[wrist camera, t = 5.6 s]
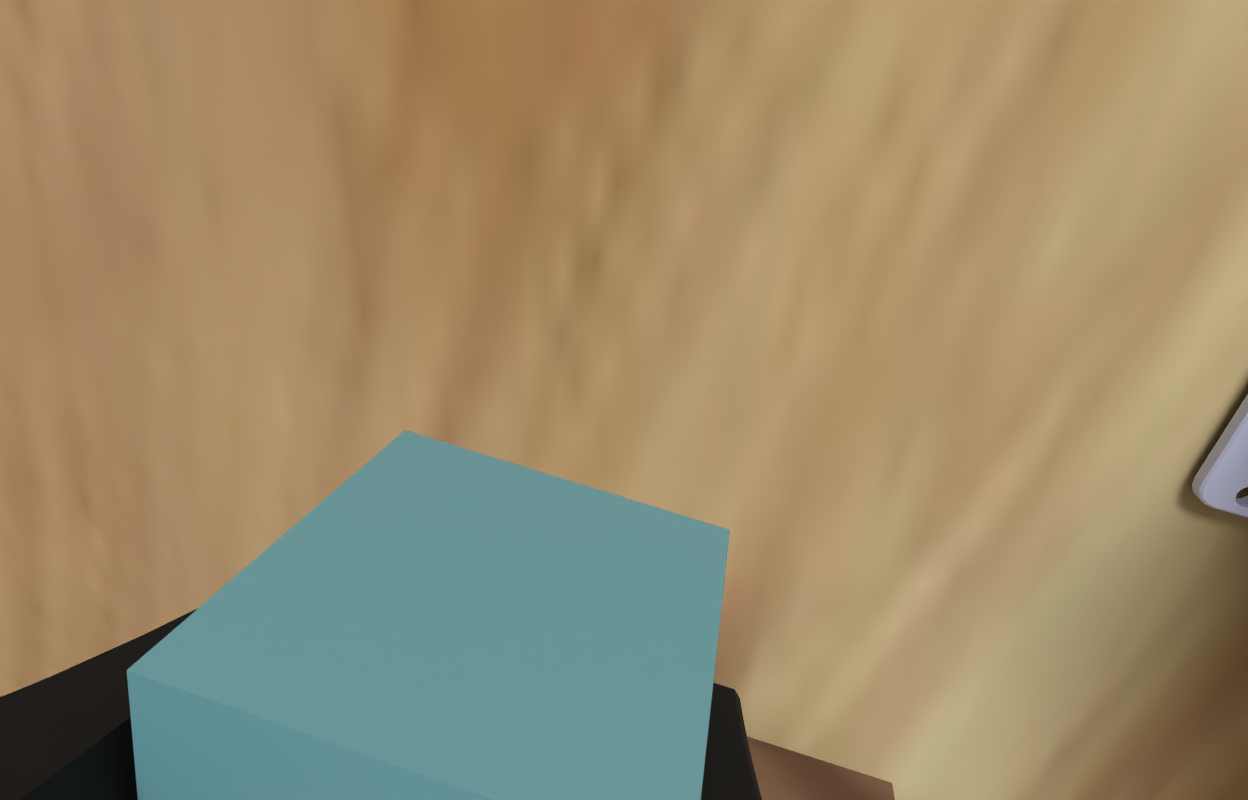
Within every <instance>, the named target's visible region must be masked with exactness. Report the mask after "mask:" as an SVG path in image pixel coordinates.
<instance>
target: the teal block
mask: <svg viewBox="0 0 1248 800" xmlns="http://www.w3.org/2000/svg"><path fill="white" fill-rule="evenodd" d="M729 533H730V530H728V529H725V528H722V527H719V526H715V525H712V524H709V523H705V522H702V521H699V520H696V519H692V518H689V517H686V516H683V515H679V514H676V513H673V512H670V511H666V510H663V509H660V508H657V507H653V506H650V505H647V504H644V503H640V502H637V501H634V500H631V499H627V498H624V497H621V496H618V495H614V494H611V493H608V492H605V491H601V490H598V489H595V488H591V487H588V486H585V485H582V484H578V483H575V482H572V481H569V480H565V479H562V478H559V477H556V476H552V475H549V474H546V473H543V472H539V471H536V470H533V469H530V468H526V467H523V466H520V465H517V464H513V463H510V462H507V461H504V460H500V459H497V458H494V457H491V456H487V455H484V454H481V453H478V452H474V451H471V450H468V449H464V448H461V447H458V446H455V445H451V444H448V443H445V442H442V441H438V440H435V439H432V438H429V437H425V436H422V435H419V434H416V433H412V432H409V431H406V430H405V431H404V432H403V433H401V434H400V435H399V436H398V437H397V438H396V439H394V440H393V441H392V442H391V443H390V444H389V445H387V446H386V447H385V448H384V449H383V450H382V451H380V452H379V453H378V454H377V455H376V456H375V457H374V458H372V459H371V460H370V461H369V462H368V463H367V464H365V465H364V466H363V467H362V468H361V469H360V470H358V471H357V472H356V473H355V474H354V475H353V476H351V477H350V478H349V479H348V480H347V481H346V482H344V483H343V484H342V485H341V486H340V487H339V488H338V489H336V490H335V491H334V492H333V493H332V494H331V495H329V496H328V497H327V498H326V499H325V500H324V501H322V502H321V503H320V504H319V505H318V506H317V507H315V508H314V509H313V510H312V511H311V512H310V513H309V514H307V515H306V516H305V517H304V518H303V519H302V520H300V521H299V522H298V523H297V524H296V525H295V526H293V527H292V528H291V529H290V530H289V531H288V532H286V533H285V534H284V535H283V536H282V537H281V538H279V539H278V540H277V541H276V542H275V543H274V544H273V545H271V546H270V547H269V548H268V549H267V550H266V551H264V552H263V553H262V554H261V555H260V556H259V557H257V558H256V559H255V560H254V561H253V562H252V563H250V564H249V565H248V566H247V567H246V568H245V569H243V570H242V571H241V572H240V573H239V574H238V575H237V576H235V577H234V578H233V579H232V580H231V581H230V582H228V583H227V584H226V585H225V586H224V587H223V588H221V589H220V590H219V591H218V592H217V593H216V594H214V595H213V596H212V597H211V598H210V599H209V600H208V601H206V602H205V603H204V604H203V605H202V606H201V607H199V608H198V609H197V610H196V611H195V612H194V613H192V614H191V615H190V616H189V617H188V618H187V619H185V620H184V621H183V622H182V623H181V624H180V625H178V626H177V627H176V628H175V629H174V630H173V631H172V632H170V633H169V634H168V635H167V636H166V637H165V638H163V639H162V640H161V641H160V642H159V643H158V644H156V645H155V646H154V647H153V648H152V649H151V650H149V651H148V652H147V653H146V654H145V655H144V656H143V657H141V658H140V659H139V660H138V661H137V662H136V663H134V664H133V665H132V666H131V667H130V668H129V669H127V680H128V692H129V703H130V715H131V727H132V738H133V750H134V761H135V773H136V784H137V796H138V800H701V792H702V783H703V774H704V765H705V755H706V746H707V737H708V728H709V718H710V709H711V700H712V691H713V681H714V672H715V663H716V654H717V644H718V635H719V626H720V617H721V607H722V598H723V589H724V580H725V570H726V561H727V552H728V543H729Z"/></svg>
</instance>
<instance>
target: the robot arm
mask: <svg viewBox="0 0 1248 800" xmlns="http://www.w3.org/2000/svg"><path fill="white" fill-rule="evenodd" d="M1246 487H1248V394H1247V396H1246V397H1245V399H1244V400H1243V402H1242V404H1241V405H1240V407H1239V408H1238V410H1237V411H1236V413H1235V414H1234V416H1233V418H1232V419H1231V421H1230V422H1229V424H1228V425H1227V427H1226V429H1225V430H1224V432H1223V433H1222V435H1221V436H1220V438H1219V440H1218V441H1217V443H1216V444H1215V446H1214V447H1213V449H1212V451H1211V452H1210V454H1209V455H1208V457H1207V458H1206V460H1205V462H1204V463H1203V465H1202V466H1201V468H1200V469H1199V471H1198V472H1197V474H1196V476H1195V477H1194V480H1193V483H1192V489H1193V493H1194V494H1195V495H1196V496H1197V498H1198V499H1200V500H1201V501H1202V502H1203V503H1204V504H1205V505H1207V506H1209V507H1211V508H1214V509H1218V510H1222V511H1225V512H1229V513H1233V514H1236V515H1240V516H1243V517H1247V518H1248V495H1247V496H1245V497H1242V498H1236V495H1237V493H1238V492H1239V491H1240V490H1241V489H1243V488H1246ZM196 610H197V609H196ZM196 610H194V611H191V612H189V613H187V614H185V615H183V616H181V617H179V618H177V619H175V620H173V621H171V622H169V623H167V624H165V625H163V626H161V627H159V628H157V629H155V630H153V631H151V632H149V633H147V634H145V635H142V636H140V637H138V638H136V639H134V640H131V641H129V642H127V643H125V644H122V645H120V646H118V647H116V648H113V649H111V650H109V651H107V652H105V653H102V654H100V655H98V656H96V657H93V658H91V659H89V660H87V661H85V662H82V663H80V664H78V665H76V666H73V667H71V668H69V669H67V670H64V671H62V672H60V673H58V674H56V675H53V676H51V677H49V678H46V679H44V680H41V681H39V682H37V683H34V684H32V685H29V686H27V687H25V688H22V689H20V690H17V691H15V692H12V693H10V694H7V695H5V696H2V697H0V800H138V796H137V784H136V773H135V761H134V750H133V738H132V727H131V715H130V703H129V692H128V680H127V669H129V668H130V667H131V666H132V665H133V664H134V663H136V662H137V661H138V660H139V659H140V658H141V657H143V656H144V655H145V654H146V653H147V652H148V651H149V650H151V649H152V648H153V647H154V646H155V645H156V644H158V643H159V642H160V641H161V640H162V639H163V638H165V637H166V636H167V635H168V634H169V633H170V632H172V631H173V630H174V629H175V628H176V627H177V626H178V625H180V624H181V623H182V622H183V621H184V620H185V619H187V618H188V617H189V616H190V615H191V614H192V613H194V612H195V611H196ZM701 800H762V797H761V793H760V790H759V786H758V782H757V778H756V774H755V770H754V766H753V762H752V758H751V753H750V749H749V745H748V740H747V735H746V731H745V726H744V720H743V715H742V709H741V703H740V698H739V696H738V694H737V693H736V691H735V689H731V688H728V687H725V686H722V685H719V684H715V683H713V691H712V700H711V709H710V718H709V728H708V737H707V746H706V755H705V765H704V774H703V783H702V792H701Z"/></svg>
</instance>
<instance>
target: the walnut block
mask: <svg viewBox="0 0 1248 800" xmlns="http://www.w3.org/2000/svg"><path fill="white" fill-rule="evenodd" d="M747 740H748V745H749V749H750V753H751V758H752V762H753V766H754V770H755V774H756V778H757V782H758V786H759V790H760V793H761V797H762V800H895V798H894V793H893V787H892V783H890V782H887V781H884V780H881V779H877V778H874V777H871V776H868V775H865V774H862V773H859V772H856V771H853V770H849V769H846V768H843V767H840V766H837V765H834V764H831V763H828V762H825V761H822V760H818V759H815V758H812V757H809V756H806V755H803V754H800V753H797V752H794V751H790V750H787V749H784V748H781V747H778V746H775V745H772V744H769V743H766V742H762V741H759V740H756V739H753V738H750V737H747Z"/></svg>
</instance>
